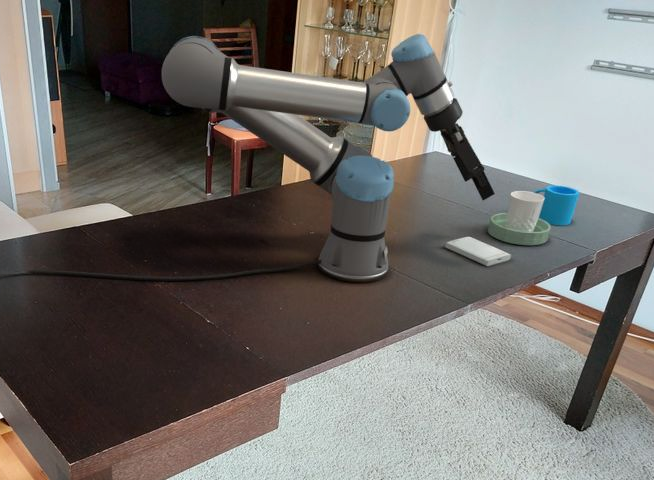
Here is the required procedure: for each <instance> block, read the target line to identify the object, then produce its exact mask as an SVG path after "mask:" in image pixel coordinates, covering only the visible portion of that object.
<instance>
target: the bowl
mask: <svg viewBox="0 0 654 480" xmlns="http://www.w3.org/2000/svg"><path fill="white" fill-rule="evenodd" d="M506 213H507V212H499V213H495V214H492V215H491V216H490V218H489V223H488V226H487V233H488V234H489V235H490V236H491V237H493V238H495V239H497V240H500V241H502V242H505V243H509V244H513V245H520V246H539V245H542V244H545V243H546V242H548V240H549V237H550V234H551V230H552V227H551V226H552V224H549V223H548V222H546V221H544V220H542V219H540V218H538V220H537V223H536V226H535V227H534V230H533V232H523V231H516V230H512V229H508V228H505V227H504V226H505V219H506Z"/></svg>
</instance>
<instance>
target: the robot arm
mask: <svg viewBox="0 0 654 480" xmlns="http://www.w3.org/2000/svg"><path fill="white" fill-rule="evenodd" d="M390 54H391V58H392V61H391V62H389V64H387V66H385V67H384V68H382V69H380V70H379V71H377V72H375V73H374V74H373V75H371V76H370V77H368V78H366V79H365V80H364V81H362V82H361V81H353V80H346V79H340V78H332V77H326V76H318V75H312V74H306V73H305V74H304V73H299V72H290V71H284V70H277V69H270V68H263V67H256V66H249V65H241V64H239V63H237V61H236V60H235V59H234V58H233V57H229V56H227V55H226V54H224V53H223V52H222V51H220V49H219V48H218V46H217V45H216V44H215V43H214V41H213V42H212V41H211V40H210V39H208V38H206V37H202V36H200V35H199V36H197V35H192V36H187V37H183V38H181V39H179V40H178V41H177V42H175V43H174V45H173V46H172V47H171V49H170V50H169V52H168V54H167V55H166V56H165V59H164V60H163V64H162V67H161V82H162V85H163V87H164V89H165V91H166V93H167V94H168V95H169V97H170V98H171V99H172V100H174V101H175V102H176V103H178V104H180V105H182V106H185V107H190V108H198V109H202V110H203V111H205V112H206V113H208V114H216V113H221V114H223V115H224V116H226V117H227V118H229V119H230V120H232V121H233V122H235V123H236V124H237V125H239V126H241V127H242V128H244V129H245V130H246V131H248V132H249V133H251V134H253V135H254V136H256V137H257V138H258V139H260V140H261V141H263V142H264V143H266V144H268V145H269V146H271V147H272V148H273V149H275V150H276V151H278V152H279V153H281V154H282V155H283V156H284V157H287V158H289V160H291V161H293V163H294V162H295V164H297V165H299V166H300V167H302V168H303V169H305V170H306V171H308V173H309V179H310V182H312V183H313V184H314V185H317V186H318V187H319V188H321V189H322V190H324V191H326V192H327V193H328V194H330V196H331V198H332V200H333V202H332V203H333V204H332V212H331V222H330V224H331V225H330V231H329V234H328V236H327V239H326V241H325V242H324V245H323V247H322V249H321V252H320V253H319V257H318V260H313V261H308V262H302V263H299V264H294V265H290V266H284V267H273V268H259V269H251V270H244V271H238V272H230V273H221V274H212V275H211V274H210V275H196V276H195V275H191V276H149V275H148V276H147V275H129V274H128V275H127V274H114V273H101V272H90V271H89V272H88V271H87V272H86V271H75V270H72V271H71V270H49V269H48V270H46V269H25V270H26V271H27V270H28V271H29V272H30V273H33V275H34V274H37V275H38V274H40V275H43V274H44V275H65V276H67V275H68V276H80V277H81V276H83V277H94V278H95V277H97V278H110V279H125V280H139V281H168V282H169V281H176V282H177V281H178V282H179V281H201V280H214V279H224V278H233V277H239V276H240V277H241V276H246V275H253V274H260V273H261V274H264V273H278V272H286V271H287V272H288V271H292V270H296V269H300V268H305V267H309V266H315V265H317V266H318V269H319V270H320V271H321V273H323V274H324V275H325V276H328V277H330V278H332V279H335V280H337V281H338V280H339V281H343V282H347V283H348V282H349V283H371V282H376V281H379V280H382V279H383V278H385V277H386V276H387V274H388V270H389V257H388V253H389V251H388V245H386V241H385V236H386V230H387V224H388V223H387V222H388V217H389V210H390V204H391V198H392V192H393V189H394V186H395V180H394V177H395V172H394V169H393V167H392V165H391V164H390V163H389V162H387V161H385V160H381V159H380V158H379V157H374V156H373V155H372V154H371V152H370V151H368V150H367V149H366V148H364V147H362V146H359V145H355V144H353V143H352V142H351V141H349V140H347V139H346V138H345V137H344V136H341V135H339V136H335V137H331V136H329V135H328V134H327V133H325V132H323V131H322V130H320V129H319V128H318V127H316V126H315V125H313V124H312V123H311V122H309V121H308V120H306V119H304V118H303V116H304V117H309V118H310V117H311V118H318V119H319V118H320V119H326V120H333V121H341V122H347V123H355V124H361V125H368V126H374V127H375V128H377V129H379V130H381V131H383V132H395V131H398V130H400V129H401V128H402V127H403V126H404V125H405V124H406V123H407V122H408V119H409V118H410V115H411V103H410V101H409V99H408V95H410V94H411V96H412V99H413V102H414V103H415V105H416V107H417V109H418V111H419V112H420V115H422V116H423V120H424V122H425V124H426V126H427V128H428V129H429V131H431V132H435V133H436V132H440V136H441V137H442V140H443V142H444V144H445V147H446V149H447V152H449V153H450V156H451V157H452V158H453V161H454V163H455V164H456V165H455V166H456V167H457V169H458V171H459V173H460V174H461V177H462V178H463V180H464V182H469V180H472V182H473V185H474V186H475V188H476V190H477V192H478V195H479V196H480V198H481V200H482V201H486V200H487V199H489V198H490V197H492V196H494V195H496V194H495V191H494V189H493V187H492V185H491V183H490V181H489V178H488V176H487V175H486V172H485V166H483V164H482V163H481V161H480V158H479V157H478V155H477V154H476V152H475V150H474V149H473V147H472V145H471V143H470V141H469V140H468V138H467V136H466V134H465V131H464V129H463V127H462V126H461V125H459V124H458V123H457V122H458V121H459V120H460V118H462V116H463V113H464V111H463V109H462V107H461V105H460V103H459V100H458V98H455V94H454V92H453V89H452V88H451V87H452V86H453V82H452V81H451V80H450V81H448V79H447V75H446V74H445V72H444V70H443V68H442V66H441V63H440V60H439V59H438V57H437V55H436V52H435V50H434V49H433V47H432V46H431V44H430V42H429V41H428V38H427V37H426V35H424V34H422V33H417V34H413V35H411V36H408V37H407V38H406V39H403V41H401V42H400V43H399V44H397V45H396V46H395V47H394V48H393V49H392V50H391V53H390ZM30 270H31V271H30ZM28 271H27V272H28ZM29 272H28V273H29Z"/></svg>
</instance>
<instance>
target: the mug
mask: <svg viewBox="0 0 654 480" xmlns="http://www.w3.org/2000/svg"><path fill="white" fill-rule="evenodd" d="M532 192H533V193H537V194H540V193H543V192H544V194H543V197H544V198H545V199H544V202H543V205H542V208H541V211H540V215H539V217H538V218H540V219H542V220H544V221H546V222H548V223H549V224H550V225H553V226H568V225H570V224H571V223H572V219H573V216H574V212H575V210H576V207H577V203H578V199H579V196H580V194H581V193H580V190H578V189H575V188H574V187H570V186H565V185H555V184H553V185H547V186H546V187H545V188H540V189H537V190H534V191H532Z"/></svg>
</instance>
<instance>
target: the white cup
mask: <svg viewBox="0 0 654 480" xmlns="http://www.w3.org/2000/svg"><path fill="white" fill-rule="evenodd" d="M533 192H534V191H528V190H527V191H525V190H515V191H511V192H510V195H509V199H508V204H507V208H506V212H505V213H506V219H505V226H504V227H505V228H508V229H512V230H516V231H523V232H533V230H534V227H535V226H536V223H537V220H538V217H539V215H540V211H541V208H542V205H543V202H544V199H545V198H544V195H542V194H540V193H533Z"/></svg>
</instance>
